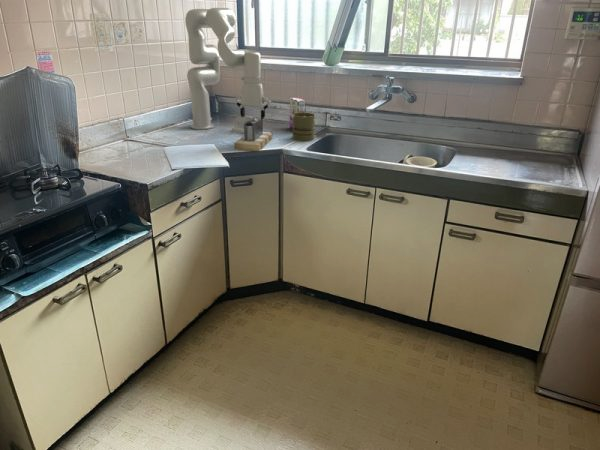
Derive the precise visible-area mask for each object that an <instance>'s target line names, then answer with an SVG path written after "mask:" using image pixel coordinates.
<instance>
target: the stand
mask: <svg viewBox="0 0 600 450" xmlns="http://www.w3.org/2000/svg"><path fill="white" fill-rule="evenodd" d="M273 136H274V135H273V132H269V131H268V132H266V131H263V134H262V135H261V136H260V137H259V138H258V139H256V140H255V141H250V140H244V135H243V136H241V137H240V138H239V139H237V141H235V142H234V145H233V146H234V148H233V149H234V150H236V149H238V150H239V151H249V150H252V151H253V152H260V151H261V150H262V149H264V147H265V146H266V145H268V144H269V143H270V142H271V140H273V139H274V137H273Z"/></svg>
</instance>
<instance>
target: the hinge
mask: <svg viewBox="0 0 600 450" xmlns="http://www.w3.org/2000/svg"><path fill="white" fill-rule="evenodd" d="M252 117H253V116H250V115H246V114H245V116H244V117H241V115H238V116H236V119H235V122H234V126H233V127H232V129H231V133H232V132H233V133H237V134H242V135H244V123H245V122H246V121H248V120H249V119H251V118H252ZM258 119H259V118H257V117H255V121H257V120H258Z"/></svg>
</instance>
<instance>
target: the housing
mask: <svg viewBox="0 0 600 450" xmlns="http://www.w3.org/2000/svg"><path fill="white" fill-rule="evenodd" d="M255 118H256V117H254V116H252V118H251V119H249V120H248V121H246V122H245V123H244V134H243V136H244V140H250V141H255V140H256V139H258V138H259V137H260V136H261V135H262V134H263V132H264V125H263V123H264V120H263V119H264V118H263V119H261V117H260V118H257V119H258V120H257V121H255Z"/></svg>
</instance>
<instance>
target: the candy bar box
mask: <svg viewBox="0 0 600 450" xmlns="http://www.w3.org/2000/svg"><path fill="white" fill-rule="evenodd" d="M306 111H307V101H306V100H304V99H302V98H300V97H290V98H289V128H290V129H291V130H293V128H294V127H293V117H294V116H295V113H307V112H306Z"/></svg>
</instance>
